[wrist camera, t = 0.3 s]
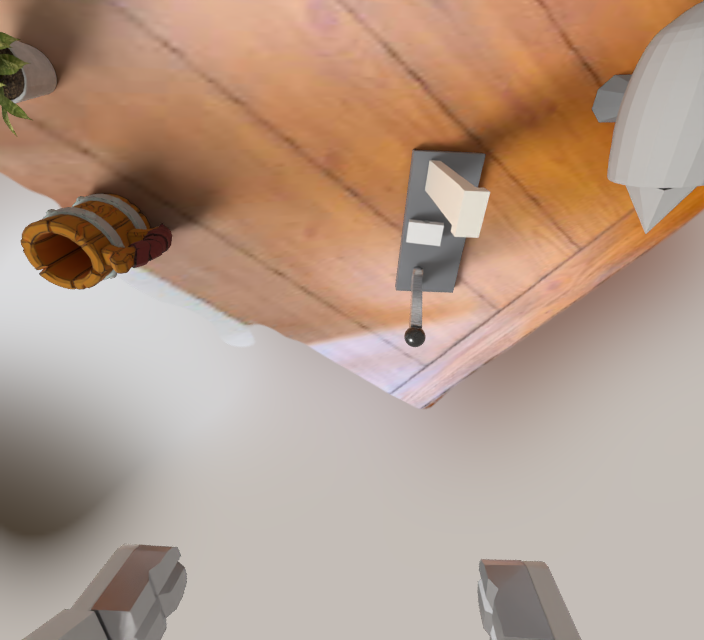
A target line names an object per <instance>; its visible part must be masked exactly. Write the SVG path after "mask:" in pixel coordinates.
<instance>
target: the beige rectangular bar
mask: <svg viewBox="0 0 704 640" xmlns="http://www.w3.org/2000/svg"><path fill="white" fill-rule="evenodd" d="M425 191H426V192H427V193H428V195H429V196H430V197H431V199H432V200H433V201H434V202H435V204H436V205H437V206H438V208H439V209H440V210H441V212H442V213H443V214H444V216H445V217H446V218H447V219H448V221H449V222H450V223H451V225H452V228H451V233H452V234H453V235H454V237H471V238H478V237H479V234H480V230H481V226H482V222H483V218H484V214H485V210H486V207H487V203H488V199H489V195H490V191H488V190H487V189H485V188H476V187H475V186H474V185H472V184H471V183H470V182H468V181H467V180H465V179H464V178H463V177H461V176H460V175H459V174H457V173H456V172H455V171H453V170H452V169H451V168H449V167H448V166H447V165H445V164H444V163H443V162H441V161H436V160H430V161H429V167H428V174H427V180H426V186H425Z"/></svg>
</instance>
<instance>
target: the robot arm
mask: <svg viewBox="0 0 704 640" xmlns="http://www.w3.org/2000/svg"><path fill="white" fill-rule="evenodd" d="M180 556H181V554H180V552H179V549H178V547H168V546H151V545H137V544H123V545H122V546H121V547H120V548H118V549H117V550H116V551H115V552H114V554H113V555H112V556H111V558H110V559H109V560H108V561H107V563H106V564H105V565H104V567H103V568H102V569H101V570H100V572H99V573H98V574H97V575H96V577H95V578H94V579H93V581H92V582H91V583H90V584H89V586H88V587H87V588H86V589H85V591H84V592H83V593H82V595H81V596H80V597H79V598H78V600H77V601H76V602H75V604H74V605H73V606H72V608H71V609H65V610H63V611H61V612H60V613H59V614H57V615H56V616H55V617H53V618H52V619H50V620H49V621H47V622H46V623H45V624H43V625H42V626H41V627H39V628H38V629H36V630H35V631H34V632H32V633H31V634H29V635H28V636H27V637H25V638H24V639H22V640H161V638H162V636H163V634H164V632H165V630H166V618H167V617H168V616H169V615H170V614H171V613H172V612H173V611H175V610H176V609H177V607H178V605H179V603H180V601H181V599H182V597H183V594H184V590H185V587H186V583H187V581H186V580H187V576H186V575H187V573H186V570H185V567H184V566H183V565H182V564H180V563H179V562H178V560H179V558H180ZM479 571H480V575H481V579H480V580H479V581H478V602H479V608H480V614H481V619H482V623H483V628H484V629H485V631H486V632H487V633H488V634H489V636H490V640H581V638H580V636H579V633H578V631H577V629H576V627H575V624H574V622H573V620H572V618H571V616H570V613H569V611H568V609H567V607H566V605H565V603H564V601H563V598H562V596H561V594H560V592H559V589H558V587H557V585H556V583H555V580H554V578H553V576H552V574H551V572H550V570H549V567H548V566H547V565H546V564H545V563H544V562H541V561H539V562H538V561H521V560H489V559H481V561H480V563H479Z"/></svg>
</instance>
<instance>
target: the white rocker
mask: <svg viewBox="0 0 704 640" xmlns="http://www.w3.org/2000/svg"><path fill="white" fill-rule="evenodd" d="M443 228H444V223H441V222H431V221H428V220H424V221H422V220H412V219H409V224H408V231H407V239H406V242H408V243H416V244H425V245H434V246H440V243H441V238H442V233H443Z"/></svg>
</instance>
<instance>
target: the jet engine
mask: <svg viewBox="0 0 704 640" xmlns="http://www.w3.org/2000/svg"><path fill="white" fill-rule="evenodd" d="M592 110H593V112H594V114H595V116H596V118H597V120H598V121H599V122H616V123H615V128H614V132H613V138H612V145H611V150H610V156H609V163H608V174H607V177H608V180H610V181H612V182H614V183H618V184H622V185H626V187H627V190H628V192H629V195H630V197H631V200H632V202H633V205H634V207H635V209H636V212H637V214H638V217H639V219H640V222H641V224H642V226H643V229H644V231H645V234H647V233H648V232H649V231H650V230H651V229H652V228H653V227H654V226H655V225H656V224H657V223H658V222H659V221H661V220H662V219H663V218H664V217H665V216H666V215H667V214H668V213H669V212H670V211H671V210H672V209H673V208H675V207H676V206H677V205H678V204H679V203H680V202H681V201H682V200H683V199H684V198H685V197H686V196H687V195H688V194H690V193H691V192H692V191H693V190H694V189H695V188H696V187H697V186H702V185H704V1H703V2H701V3H699V4H697V5H695V6H693V7H692V8H690V9H689V10H687V11H686V12H684V13H683V14H682V15H680V16H679V17H678V18H676V19H675V20H674V21H672V22H671V23H670V24H668V25H667V26H666V27H664V28H663V29H662V30H661V31H660V32H659V33H658V34H657V35H656V36H655V37H654V38H653V39H652V41H651V42H650V43H649V45H648V46H647V47H646V49H645V51H644V53H643V54H642V56H641V58H640V60H639V62H638V63H637V65H636V68H635V70H634V72H633V74H632V75H614V76H613V77H612V78H611V79H610V80H609V81H607V82H606V83H605V84H604V85H603V86H602V87H601V88H600V89H598V92H597V95H596V98H595V101H594V104H593V107H592Z"/></svg>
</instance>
